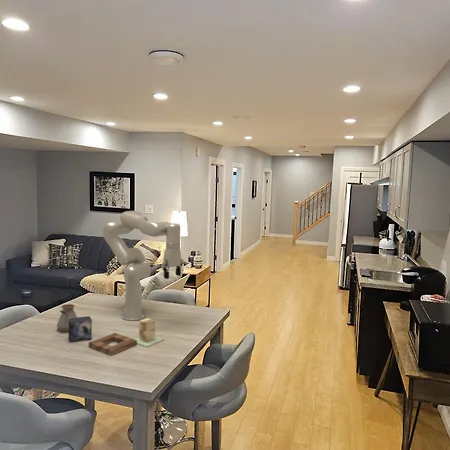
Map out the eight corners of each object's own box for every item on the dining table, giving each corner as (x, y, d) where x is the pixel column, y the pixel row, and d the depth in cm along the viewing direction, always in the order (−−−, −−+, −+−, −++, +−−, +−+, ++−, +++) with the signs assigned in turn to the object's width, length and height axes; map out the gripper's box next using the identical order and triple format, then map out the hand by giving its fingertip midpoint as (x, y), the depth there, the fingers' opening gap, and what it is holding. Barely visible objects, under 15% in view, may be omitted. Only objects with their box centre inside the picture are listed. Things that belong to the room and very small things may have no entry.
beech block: (139, 340, 207) (139, 320, 206) (147, 336, 212) (147, 317, 210) (147, 342, 204) (147, 323, 203) (154, 339, 208) (155, 320, 207)
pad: (129, 341, 206) (129, 340, 206) (147, 334, 216) (147, 333, 216) (147, 347, 199) (147, 346, 199) (164, 340, 209) (164, 339, 209)
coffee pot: (60, 325, 225) (59, 299, 224) (81, 325, 227) (81, 298, 225) (48, 340, 204) (48, 311, 203) (72, 340, 206) (72, 311, 204)
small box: (69, 342, 202) (69, 322, 201) (68, 338, 208) (68, 318, 207) (92, 339, 207) (92, 319, 206) (89, 335, 213) (89, 315, 212)
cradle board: (88, 347, 198) (88, 342, 197) (114, 337, 211) (114, 332, 211) (111, 355, 189) (111, 350, 188) (136, 345, 202) (136, 340, 202)
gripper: (178, 243, 234) (177, 273, 235) (156, 247, 219) (156, 278, 221) (188, 245, 229) (187, 275, 231) (167, 248, 215) (166, 280, 217)
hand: (172, 276), depth 226 cm, fingers open, 9 cm apart
